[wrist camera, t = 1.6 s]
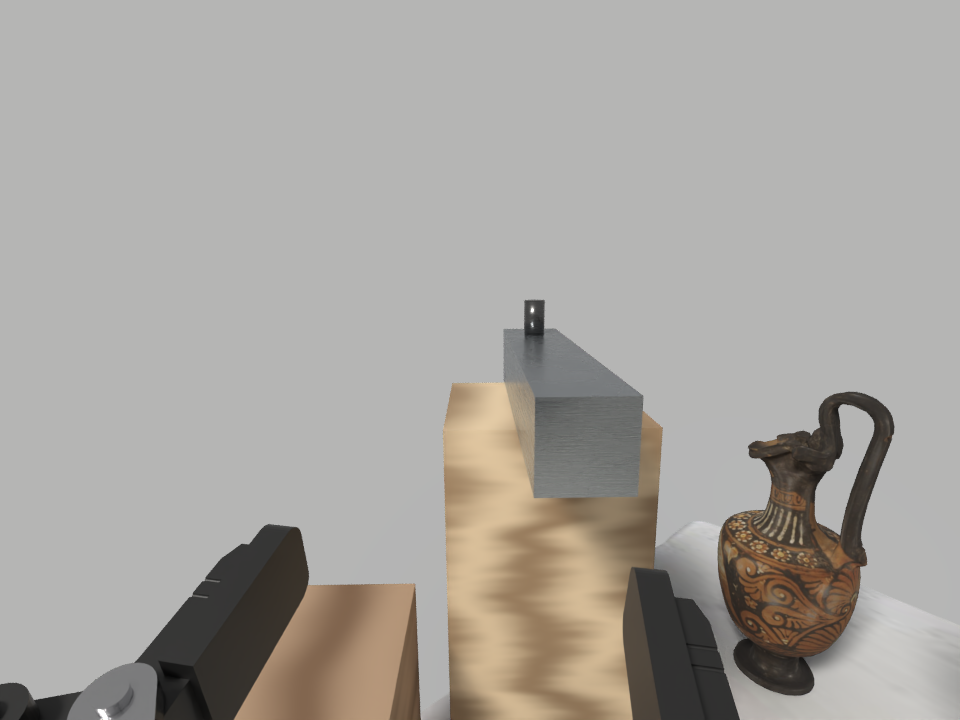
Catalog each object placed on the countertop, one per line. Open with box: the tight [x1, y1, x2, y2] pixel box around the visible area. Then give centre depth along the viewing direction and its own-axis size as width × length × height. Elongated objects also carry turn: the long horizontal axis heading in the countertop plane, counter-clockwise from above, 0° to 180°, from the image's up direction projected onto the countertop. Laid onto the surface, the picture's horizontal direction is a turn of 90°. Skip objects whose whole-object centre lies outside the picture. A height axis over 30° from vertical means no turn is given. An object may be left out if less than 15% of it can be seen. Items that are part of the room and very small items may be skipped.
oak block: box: [443, 383, 663, 720], centre depth 35 cm, size 12×11×32 cm
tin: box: [504, 300, 643, 498], centre depth 28 cm, size 4×20×6 cm, turn 1°
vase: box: [718, 392, 894, 695], centre depth 47 cm, size 12×12×30 cm
